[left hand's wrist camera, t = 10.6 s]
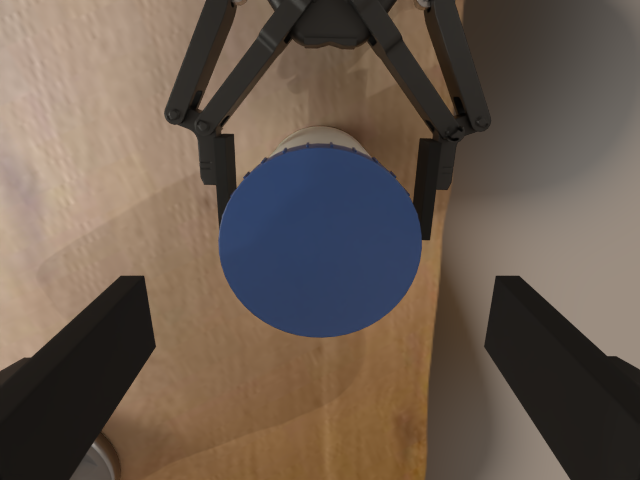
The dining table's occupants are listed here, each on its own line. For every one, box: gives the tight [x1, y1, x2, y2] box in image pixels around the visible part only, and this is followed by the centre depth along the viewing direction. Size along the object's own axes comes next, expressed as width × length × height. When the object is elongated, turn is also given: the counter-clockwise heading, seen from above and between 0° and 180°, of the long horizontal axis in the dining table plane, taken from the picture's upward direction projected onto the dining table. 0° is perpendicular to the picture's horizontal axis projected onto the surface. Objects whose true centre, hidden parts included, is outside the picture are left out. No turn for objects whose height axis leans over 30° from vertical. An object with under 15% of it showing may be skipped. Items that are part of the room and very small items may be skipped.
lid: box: [218, 142, 422, 338], centre depth 19 cm, size 10×10×2 cm
